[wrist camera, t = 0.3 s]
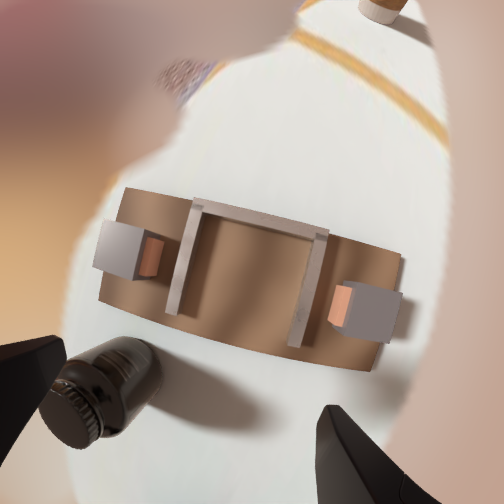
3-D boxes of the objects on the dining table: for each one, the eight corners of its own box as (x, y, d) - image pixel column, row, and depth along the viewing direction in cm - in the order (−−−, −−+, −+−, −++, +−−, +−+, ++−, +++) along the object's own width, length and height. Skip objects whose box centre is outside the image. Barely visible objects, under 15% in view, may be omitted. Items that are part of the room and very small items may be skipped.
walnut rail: (104, 299, 24) (76, 303, 19) (131, 190, 24) (107, 175, 20) (365, 367, 22) (385, 385, 18) (395, 254, 23) (421, 251, 18)
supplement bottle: (95, 345, 23) (14, 378, 11) (145, 326, 23) (65, 361, 11) (124, 403, 23) (60, 459, 11) (176, 390, 23) (123, 461, 11)
